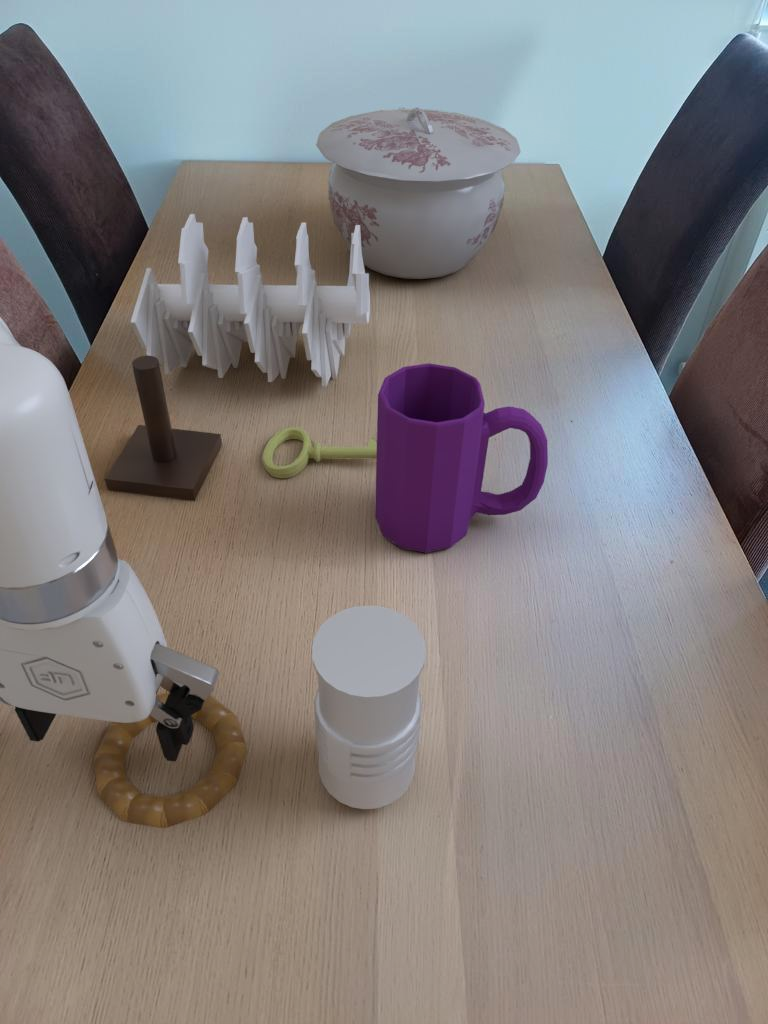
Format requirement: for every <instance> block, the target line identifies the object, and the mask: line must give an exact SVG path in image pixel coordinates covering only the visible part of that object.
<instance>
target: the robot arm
mask: <svg viewBox="0 0 768 1024" xmlns="http://www.w3.org/2000/svg"><path fill="white" fill-rule="evenodd" d="M79 425H80V424H79V422H78V418H77V415H76V412H75V408H74V405H73V402H72V398H71V394H70V392H69V389H68V387H67V384H66V381H65V379H64V376H63V375H62V374H61V371H60V370H59V369H58V368H57V366H56V365H55V364H54V363H53V362H52V361H51V360H50V359H48V358H47V357H46V356H45V355H43V354H41V353H40V352H38V351H35V350H33V349H31V348H28V347H25V346H22V345H21V344H20V343H19V342H18V341H17V339H15V338H14V335H13V333H12V332H11V330H10V328H9V327H8V325H7V323H6V322H5V321H4V319H3V318H2V317H1V316H0V702H1V703H2V704H5V705H7V706H10V707H11V706H12V707H14V712H15V714H16V715H17V717H18V719H19V721H20V723H21V725H22V728H23V729H24V731H25V733H26V735H27V737H28V739H29V741H31V742H38V743H39V742H41V741H43V740H44V739H45V736H46V735H47V733H48V731H49V729H50V726H51V725H52V723H53V721H54V719H55V718H56V716H57V715H60V716H68V717H75V718H81V719H88V720H98V721H105V722H111V723H112V722H121V723H131V722H138V721H141V720H144V719H146V718H148V716H149V715H150V716H151V717H153V718H154V719H156V720H157V721H156V722H157V724H156V726H155V732H156V735H157V739H158V741H159V745H160V748H161V751H162V754H163V757H164V759H165V760H166V761H169V762H174V763H175V762H176V761H177V760H178V757H179V754H180V752H181V749H182V747H183V746H188V745H189V744H190V742H191V739H192V737H193V733H194V721H193V719H192V717H191V715H192V714H194V713H196V712H198V711H200V710H201V708H202V706H203V704H204V702H205V701H206V700H207V699H208V697H209V696H212V695H211V694H212V693H213V692H214V690H215V689H216V688H215V687H216V686H217V682H218V679H219V677H220V671H219V670H218V668H216V667H213V666H211V665H208V664H206V663H204V662H203V661H200V660H198V659H195V658H193V657H191V656H189V655H186V654H183V653H182V652H178V651H176V650H174V649H172V648H169V647H168V642H167V640H166V638H165V634H164V631H163V628H162V626H161V622H160V621H159V618H158V616H157V613H156V610H155V608H154V605H153V604H152V601H151V600H150V598H149V596H148V594H147V592H146V589H145V588H144V586H143V585H142V583H141V581H140V579H139V577H138V575H137V574H136V573H135V571H134V570H133V568H132V566H131V565H130V564H129V562H127V561H126V560H123V559H121V558H119V554H118V551H117V549H116V545H115V541H114V538H113V535H112V532H111V529H110V525H109V522H108V518H107V514H106V512H105V508H104V505H103V502H102V498H101V494H100V492H99V488H98V485H97V482H96V478H95V475H94V472H93V468H92V465H91V462H90V458H89V455H88V451H87V449H86V444H85V442H84V439H83V434H82V431H81V428H80V426H79ZM160 687H161V688H162V689H164V690H165V691H167V692H169V693H170V694H169V695H168V697H167V700H166V702H165V704H164V703H162V702H161V701H160V700H158V699H157V698H156V695H158V692H159V689H160Z"/></svg>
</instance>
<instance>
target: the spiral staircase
mask: <svg viewBox="0 0 768 1024" xmlns="http://www.w3.org/2000/svg"><path fill="white" fill-rule="evenodd" d="M295 242H296V244H295V245H296V247H295V255H294V269H295V272H296V280H295V285H293V284H292V285H291V284H290V285H287V284H286V285H283V284H277V285H276V284H264V282H263V277H262V274H261V265H260V264H258V263H257V256H258V255H257V254H258V247H257V245H256V243H255V234H254V222H253V221H252V222H250V221H249V219H248V217H247V216H243V217H242V220H241V223H240V224H239V229H238V232H237V236H236V249H235V250H236V251H235V265H234V273H235V274H236V275H235V276H237V284H210V276H209V266H208V261H209V252H210V251H209V248H208V246H207V244H206V242H205V239H204V223H203V222H197V219H196V214H195V213H190V214H189V215H188V217H187V220H186V222H185V224H184V226H183V227H181V232H180V240H179V251H178V258H177V259H178V260H177V265H178V266H179V273H180V283H158V281H157V279H156V277H155V274H154V271H153V269H152V267H147V268H146V270H145V273H144V276H143V280H142V283H141V286H140V290H139V293H138V296H137V300H136V303H135V306H134V309H133V313H132V316H131V319H130V325H131V327H132V329H133V332H134V334H135V336H136V338H137V341H138V342H139V345H140V348H141V349H143V350H144V349H146V355H145V356H147V355H148V356H154V357H156V358H157V359H158V361H159V366H163V370H164V374H165V375H170V374H171V373H172V371H173V370H174V369H176V368H177V366H178V365H179V364H181V366H182V368H187V367H188V363H189V360H190V357H191V356H190V355H191V351H192V347H194V350H195V352H196V354H197V356H198V357H199V356H200V357H201V359H202V361H201V363H202V366H204V367H207V368H209V369H211V370H217V377H218V379H223V378H224V377H225V375H226V373H227V371H228V370H229V368H230V366H231V364H232V368H234V369H235V368H239V360H240V356H241V350H242V344H243V342H245V343H246V342H247V343H248V347H249V351H250V353H252V354H254V364H256V366H257V367H258V368H259V370H261V372H262V373H263V374H264V373H265V374H266V373H267V382H268V383H273V382H274V381H275V379H276V378H277V377H278V376H279V374H280V379H283V380H286V378H287V373H288V368H289V364H290V363H289V362H290V358H291V359H296V347H297V346H296V344H297V337H298V335H299V332H300V329H301V327H302V330H301V331H302V332H301V335H302V341H303V346H304V352H305V356H306V357H305V358H306V360H307V361H311V362H310V363H311V364H310V365H311V366H310V367H311V368H310V371H312V373H313V374H314V375H315V376H316V378H321V387H327V386H328V384H329V381H330V379H331V378H332V380H333V381H338V374H339V373H338V372H339V365H340V358H341V357H345V352H346V351H345V350H346V349H345V348H346V339H349V338H350V335H351V330H352V326H354V325H356V324H369V323H370V316H371V295H370V294H371V292H370V273H369V272H367V273H366V270H365V269H366V268H365V265H364V264H363V258H362V249H361V232H360V225H356V226H355V231H354V233H351V250H350V256H349V269H348V270H349V271H348V278H347V283H346V285H317V279H316V270H315V269H313V268H312V265H311V261H310V251H309V234H308V230H307V222H301V223H300V226H299V229H298V230H297V234H296V236H295Z"/></svg>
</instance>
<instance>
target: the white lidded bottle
mask: <svg viewBox="0 0 768 1024" xmlns="http://www.w3.org/2000/svg"><path fill="white" fill-rule="evenodd" d="M311 656H312V657H311V659H312V665H313V667H314V671H315V672H316V675H317V687H318V688H317V689H316V693H315V696H314V701H313V707H314V726H315V742H316V749H317V752H318V761H317V762H318V774H319V778H320V780H321V782H322V785H323V787H324V788H325V789H326V791H327V792H328V794H329V795H330V796H332V798H334V799H335V800H336V801H338V802H339V803H341V804H343V805H346V806H348V807H350V808H352V809H353V808H354V809H358V810H359V809H360V810H375V809H376V810H377V809H381V808H383V807H386V806H389V805H391V804H392V803H394V802H396V801H397V800H398V799H400V798H401V797H402V796H403V795H404V794H405V793H406V791H407V790H408V789H409V788H410V786H411V783H412V782H413V779H414V778H415V769H416V753H417V751H418V745H419V739H420V730H421V729H420V728H421V726H420V725H421V719H422V710H423V704H422V698H421V693H420V691H419V687H420V676H421V674H422V672H423V670H424V668H425V665H426V664H425V663H426V657H427V647H426V641H425V638H424V636H423V634H422V632H421V630H420V628H419V627H418V626H417V625H416V624H415V623H414V622H413V621H412V620H411V619H410V618H409V617H407V616H406V615H404V614H402V613H401V612H400V611H397V610H394V609H392V608H389V607H386V606H379V605H372V604H370V605H369V604H367V605H356V606H353V607H349V608H345V609H342V610H340V611H339V612H337V613H334V614H333V615H331V616H330V617H329V618H328V619H326V620H325V621H324V622H323V623H322V624H321V625H320V627H319V628H318V630H317V631H316V633H315V634H314V638H313V641H312V644H311Z"/></svg>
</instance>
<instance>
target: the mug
mask: <svg viewBox="0 0 768 1024" xmlns="http://www.w3.org/2000/svg"><path fill="white" fill-rule="evenodd" d="M485 406H486V405H485V399H484V395H483V390H482V386H481V383H480V381H479V380H478V378H477V377H475V376H473V375H471V374H470V373H467V372H465V371H463V370H461V369H459V368H457V367H455V366H449V365H442V364H436V363H430V362H429V363H421V364H414V365H407V366H402V367H400V368H399V369H398V370H397V369H396V371H393V372H392V373H391V374H389V375H387V376H385V377H384V380H383V381H382V384H381V386H380V389H379V391H378V393H377V418H376V420H377V421H376V422H377V423H376V442H377V456H376V459H375V461H376V462H375V463H376V465H375V471H376V472H375V497H374V499H375V501H374V502H375V504H374V505H375V506H374V519H375V521H376V523H377V525H378V528H379V530H380V532H381V535H382V537H385V539H387V540H388V541H390V542H391V543H393V544H394V545H396V546H397V547H399V548H400V549H403V550H409V551H410V550H411V551H415V552H421V553H425V554H427V553H432V552H436V551H442V550H446V549H451V548H452V547H453V546H455V545H456V544H457V543H458V542H460V541H461V540H462V539H463V538H465V537H466V536H467V534H468V530H469V525H470V520H471V519H472V518H473V517H474V516H475V515H476V514H477V513H478V514H482V515H484V516H485V515H486V516H505V515H509V514H512V513H517V512H520V511H522V510H523V509H524V508H526V507H527V506H528V505H530V504H531V503H532V502H533V501H534V500H536V499H537V497H538V495H539V494H540V491H541V489H542V487H543V485H544V483H545V479H546V474H547V469H548V465H549V464H548V463H549V461H548V460H549V459H548V458H549V457H548V452H549V451H548V449H549V448H548V438H547V435H546V433H545V430H544V428H543V425H542V424H541V423H540V421H538V420H537V419H536V418H535V417H534V416H533V415H532V414H531V413H530V412H529V411H527V410H526V409H524V408H520V407H514V406H510V405H509V406H503V407H498V408H495V409H493V410H491V411H487V412H485ZM510 429H514V430H519V431H521V432H523V433H525V435H526V436H527V438H528V441H529V460H528V461H529V462H528V465H527V469H526V474H525V477H524V479H523V481H522V483H521V484H520V485H518V486H517V487H515V488H514V489H512V490H510V491H506V492H502V493H501V494H500V493H499V494H498V493H493V492H488V491H482V489H483V479H484V473H485V468H486V467H485V466H486V460H487V454H488V448H489V440H490V438H491V437H494V436H496V435H498V434H500V433H502V432H504V431H506V430H510Z"/></svg>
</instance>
